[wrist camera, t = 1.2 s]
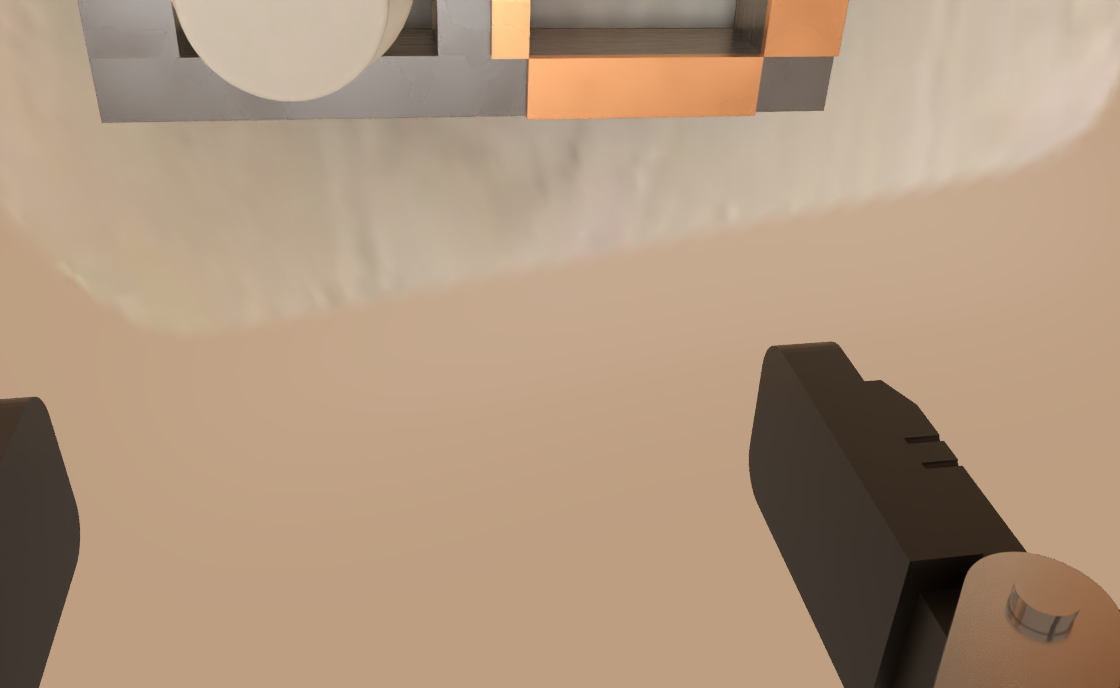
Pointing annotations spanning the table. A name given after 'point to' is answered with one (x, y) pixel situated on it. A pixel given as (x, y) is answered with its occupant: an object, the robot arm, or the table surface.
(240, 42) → the supplement bottle
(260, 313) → the table surface
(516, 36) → the tray
